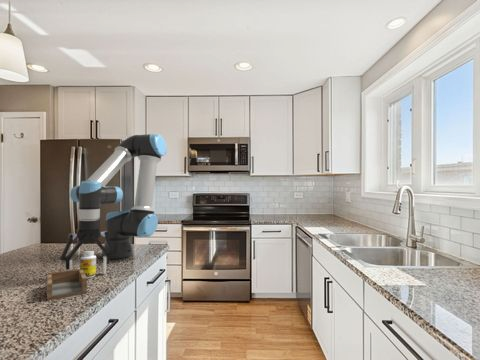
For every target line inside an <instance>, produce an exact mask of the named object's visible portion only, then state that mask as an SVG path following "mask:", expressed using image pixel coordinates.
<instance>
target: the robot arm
mask: <svg viewBox="0 0 480 360" xmlns="http://www.w3.org/2000/svg"><path fill="white" fill-rule="evenodd" d="M113 151H114V152H113V153H112V154H111V155H110V156H109V157H107V159H106V160H105V161H104V162H103V163H102V164H101V165H100V166H99V167H98V168H97V169H96V170H95V172H94V173H92V174H91V175H90V176H89V178H88V179H86V180H82V181H81V182H80V183H79V185H75V186H73V187H72V189H70V195H69V196H70V199H71V200H72V201H73V202H75V203H78V220H79V221H78V227H77V228H78V229H77V233H69V234H68V240H67V241H66V244H65V247H64V249H63V251H62V252H61V255H60V257H59V258H60V260H61V261H64V262H65V271H68V270H73V260H72V258H73V257H74V255H75V254H76V253H77V252H78V250H79V249H80V247H81V246H82V245H84V244H85V245H86V244H87V245H88V244H94V243H96V245H97V247H99V248H100V250H102V251H101V256H100V257H101V259H103V260H102V261H103V262H102V263H103V264H102V265H103V266H102V272H103V273H104V274H107V265H109V264H110V260H116V259H117V260H119V259H125V258H129V257H132V256H133V255H134V249H133V245H132V242H131V237H132V238H134V237H135V238H149V237H151V236H153V235H154V234H155V232H156V230H157V228H158V224H159V219H158V216H157V215H156V214H155V210H154V208H153V200H154V193H155V192H154V191H155V185H156V176H157V169H158V163H160V162H161V160H162V157H163V156H165V155H166V154H167V143H166V141H165V138H164V137H163V136H162V135H161V134H159V133H150V134H135V135H130V136H129V137H127V138H125V139H123V141H121V142H120V143H118V145H116V147H115V148H114V150H113ZM134 158H138V160H139V169H138V175H137V176H138V177H137V182H136V183H137V184H136V190H135V191H136V192H135V197H134V206H133V207H131V208H130V209H129V210H120V211H111V212H107V214H106V217H105V230H104V231H101V230H100V228H101V221H100V218H101V205H104V204H105V205H108V204H109V205H110V204H117V203H120V202H121V201H122V200H123V197H124V193H123V190H122V188H120V187H119V186H114V185H110V186H109V185H108V186H107V184H108V183H109V182H110V181H111V180H112V178H113V177H115V175H117V173H118V172H119V170H121V168H123V167H124V165H125V164H126V163H127V162H130V161H131V160H132V159H134ZM100 236H102V237H103V238H104V241H105V242H104V245H103V244H102V243H101V241H100V240H99V238H100ZM76 238H77V239H79V240H78V242H77V243H76V244H75V245H74V247H73V248H72V249H71V250H70V247H71V245H72V243H73V240H75V239H76ZM69 250H70V252H69ZM68 252H69V253H68Z"/></svg>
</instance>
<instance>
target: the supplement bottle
mask: <svg viewBox="0 0 480 360" xmlns="http://www.w3.org/2000/svg"><path fill="white" fill-rule="evenodd" d="M79 263H80V264H79V269H83V271H84V273H85V275H86V278H87V279H91V278H95V276H96V275H97V274H96V273H97V255H96V254H95V250H94V249H86V250H83V251H82V255H81V256H80V262H79Z"/></svg>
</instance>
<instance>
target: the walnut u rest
mask: <svg viewBox="0 0 480 360" xmlns="http://www.w3.org/2000/svg"><path fill="white" fill-rule="evenodd" d="M46 275H47V276H46V299H47V301H53V300H58V299H63V298H69V297H74V296H78V295H86V294H87V293H88V290H87V289H88V278H86V275H85V273H84V271H83V269H80V268H78V269H72V270H69V269H68V270H62V271H55V272H48V273H46Z"/></svg>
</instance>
